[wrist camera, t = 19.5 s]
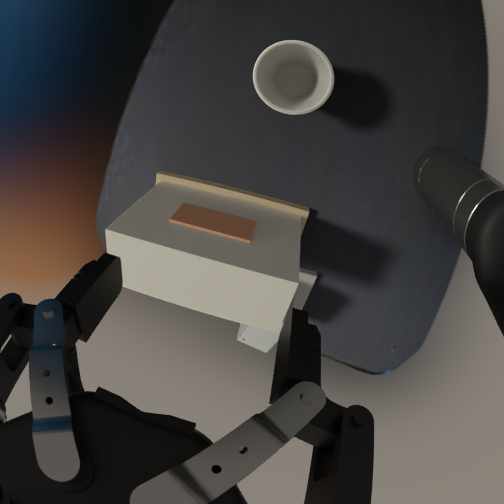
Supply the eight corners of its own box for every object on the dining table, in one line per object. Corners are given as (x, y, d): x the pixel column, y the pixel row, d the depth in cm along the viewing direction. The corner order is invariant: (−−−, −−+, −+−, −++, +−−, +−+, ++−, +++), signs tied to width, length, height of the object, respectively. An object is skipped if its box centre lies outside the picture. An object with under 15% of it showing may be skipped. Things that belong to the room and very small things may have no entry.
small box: (272, 310, 54) (266, 354, 46) (246, 297, 54) (235, 340, 45) (296, 282, 50) (293, 327, 41) (268, 267, 49) (260, 311, 41)
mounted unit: (309, 207, 44) (311, 278, 29) (290, 260, 49) (283, 339, 35) (160, 170, 44) (98, 219, 30) (156, 223, 50) (104, 285, 35)
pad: (316, 272, 50) (317, 276, 49) (297, 315, 56) (297, 320, 55) (238, 250, 50) (236, 254, 49) (227, 297, 56) (225, 301, 55)
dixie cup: (308, 41, 31) (311, 28, 22) (336, 94, 34) (347, 97, 26) (253, 66, 34) (238, 60, 25) (281, 117, 37) (275, 127, 29)
